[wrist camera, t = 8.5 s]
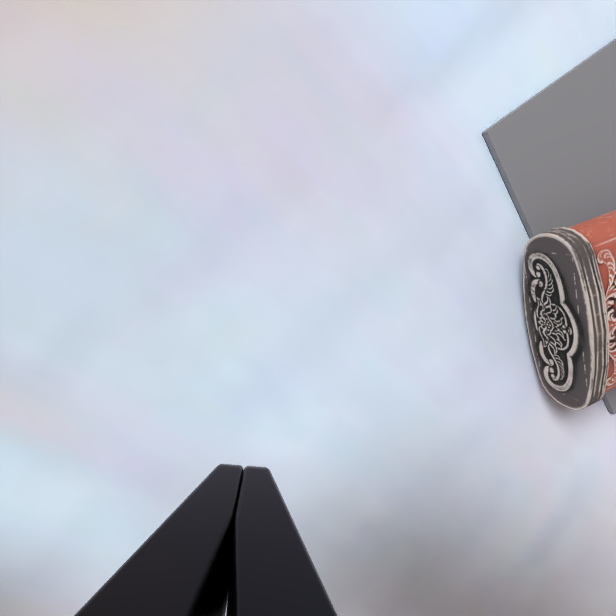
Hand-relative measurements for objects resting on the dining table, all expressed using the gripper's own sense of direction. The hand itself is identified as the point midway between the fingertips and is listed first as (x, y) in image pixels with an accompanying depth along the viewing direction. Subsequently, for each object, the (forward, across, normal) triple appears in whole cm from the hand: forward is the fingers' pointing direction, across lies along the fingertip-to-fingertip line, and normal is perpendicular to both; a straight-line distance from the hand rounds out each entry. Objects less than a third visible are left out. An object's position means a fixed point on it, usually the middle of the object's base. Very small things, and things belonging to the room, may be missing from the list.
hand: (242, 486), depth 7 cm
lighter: (+11, -12, 0) cm, 16 cm away
